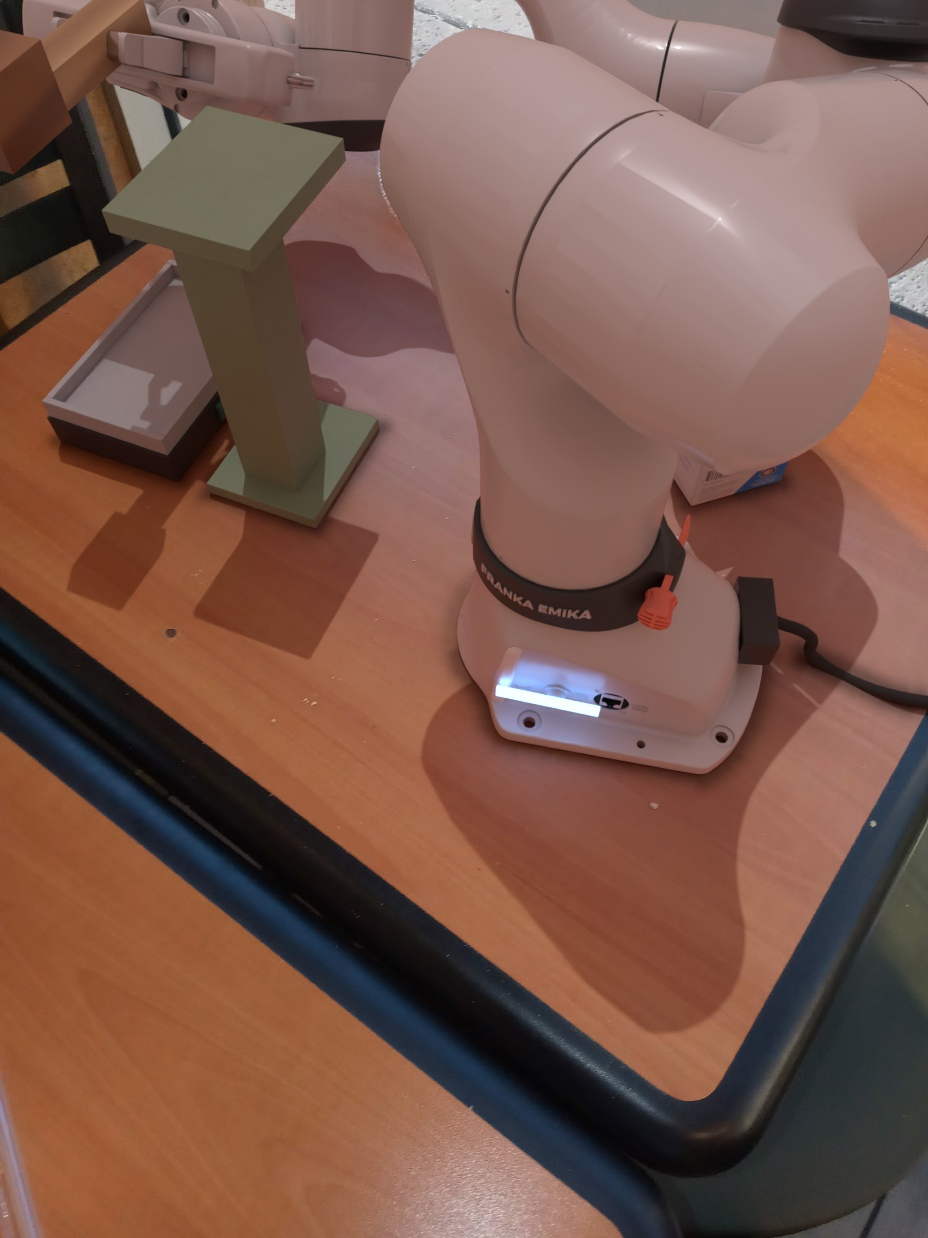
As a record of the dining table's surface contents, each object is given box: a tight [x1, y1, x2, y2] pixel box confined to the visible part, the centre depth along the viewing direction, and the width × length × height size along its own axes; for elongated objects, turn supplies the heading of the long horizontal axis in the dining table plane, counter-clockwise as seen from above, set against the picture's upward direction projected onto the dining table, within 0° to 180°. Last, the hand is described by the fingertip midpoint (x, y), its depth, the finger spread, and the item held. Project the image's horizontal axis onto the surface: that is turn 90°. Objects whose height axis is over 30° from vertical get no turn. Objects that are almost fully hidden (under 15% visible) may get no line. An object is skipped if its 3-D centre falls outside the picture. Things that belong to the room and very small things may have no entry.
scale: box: [41, 259, 227, 483], centre depth 80 cm, size 12×20×5 cm, turn 157°
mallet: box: [0, 0, 154, 175], centre depth 57 cm, size 5×17×5 cm, turn 157°
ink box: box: [673, 454, 790, 506], centre depth 70 cm, size 8×5×15 cm, turn 108°
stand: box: [101, 106, 380, 530], centre depth 67 cm, size 10×12×26 cm
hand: (86, 39), depth 60 cm, fingers closed on mallet, 3 cm apart
